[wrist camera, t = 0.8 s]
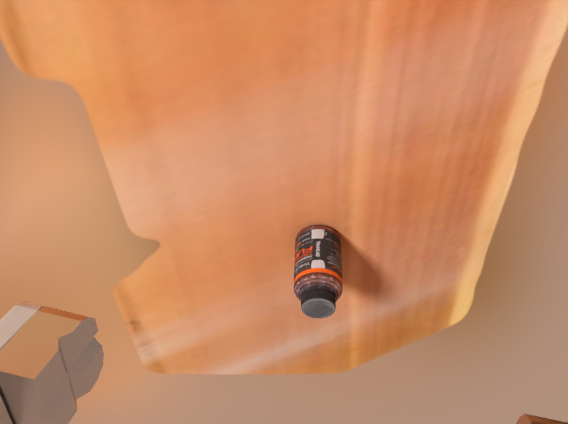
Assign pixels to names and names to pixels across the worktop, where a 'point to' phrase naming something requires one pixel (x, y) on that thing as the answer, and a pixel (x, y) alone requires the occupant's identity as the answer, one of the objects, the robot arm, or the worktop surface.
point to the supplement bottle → (318, 270)
